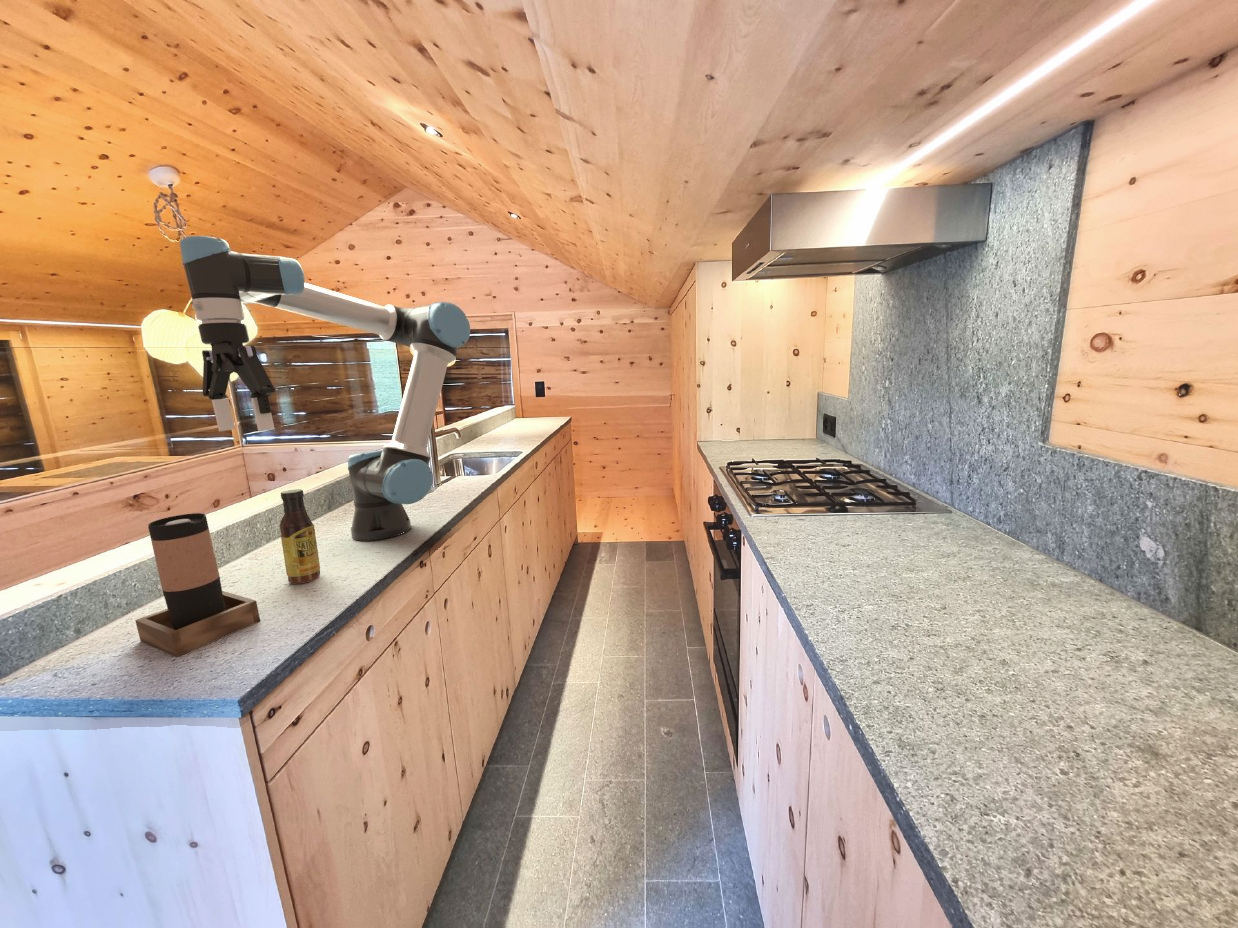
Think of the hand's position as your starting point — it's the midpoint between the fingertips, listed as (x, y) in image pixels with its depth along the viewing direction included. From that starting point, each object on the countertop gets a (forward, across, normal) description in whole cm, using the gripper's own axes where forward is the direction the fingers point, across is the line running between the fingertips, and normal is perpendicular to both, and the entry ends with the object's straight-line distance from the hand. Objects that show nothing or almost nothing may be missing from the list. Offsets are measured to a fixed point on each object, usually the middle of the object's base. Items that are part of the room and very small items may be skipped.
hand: (246, 430), depth 102 cm
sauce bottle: (+34, +5, +2) cm, 34 cm away
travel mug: (+32, +9, -19) cm, 39 cm away
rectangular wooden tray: (+33, +9, -19) cm, 39 cm away
